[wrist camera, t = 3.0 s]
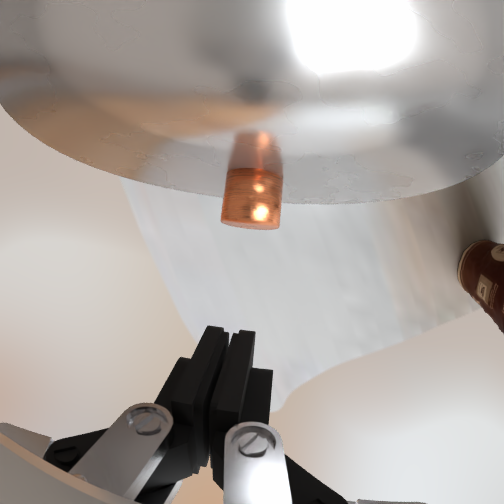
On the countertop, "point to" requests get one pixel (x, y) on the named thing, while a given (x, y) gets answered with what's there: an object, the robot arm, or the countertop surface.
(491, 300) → the coffee cup
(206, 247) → the countertop surface
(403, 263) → the countertop surface
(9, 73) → the cooker lid
